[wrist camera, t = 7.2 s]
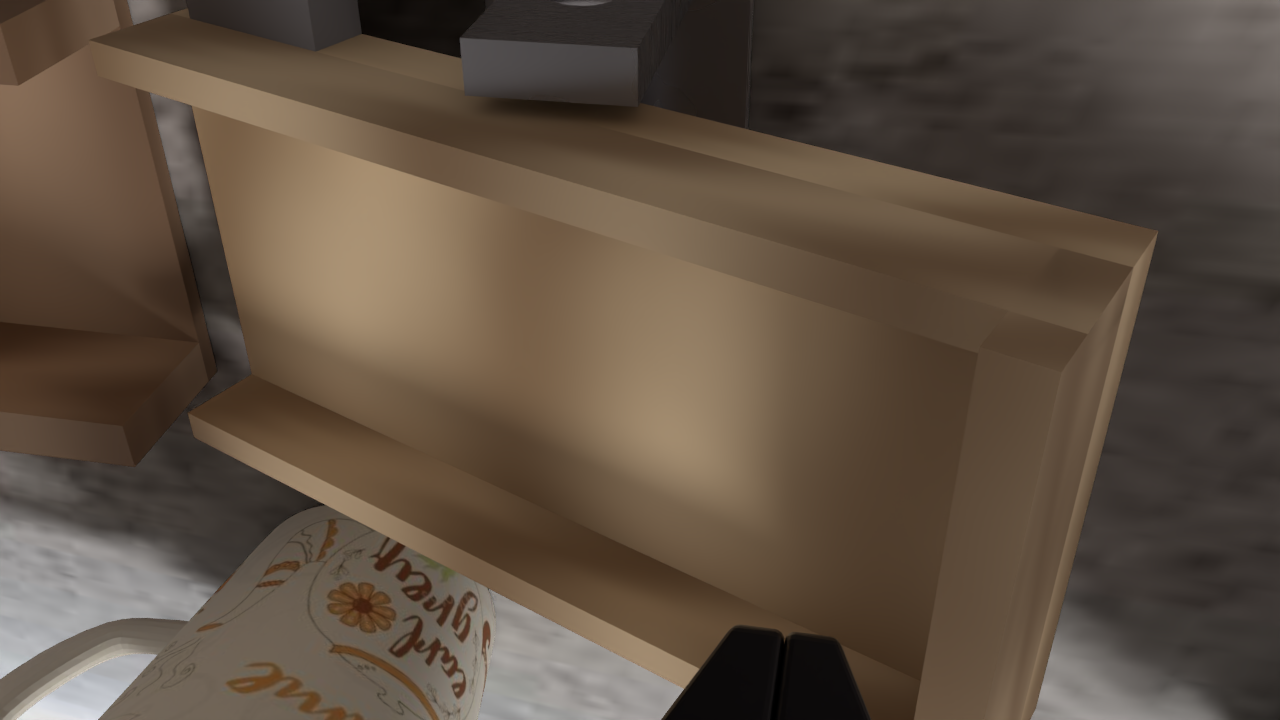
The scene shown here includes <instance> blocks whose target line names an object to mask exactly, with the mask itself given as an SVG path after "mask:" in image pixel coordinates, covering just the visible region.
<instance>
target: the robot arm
mask: <svg viewBox="0 0 1280 720" xmlns="http://www.w3.org/2000/svg"><path fill="white" fill-rule="evenodd" d="M661 720H871V717H870V715H869V712H868V710H867V707H866V705H865V702H864V700H863V697H862V695H861V692H860V690H859V687H858V685H857V683H856V680H855V678H854V675H853V673H852V670H851V668H850V665H849V663H848V660H847V658H846V655H845V653H844V650H843V648H842V646H841V644H840V643H839V641H838V640H837V639H835V638H834V637H830V636H823V635H816V634H808V633H801V632H791V633H789V634H788V635H787V636H786V638H785V643H784V636H783V634H782V632H780V631H779V630H777V629H771V628H764V627H756V626H749V625H736V626H733V627H732V628H731V629H730V630H729V631H728V632H727V633H726V634H725V636H724V637H723V638H722V640H721V641H720V642H719V644H718V645H717V646H716V648H715V649H714V650H713V652H712V653H711V654H710V656H709V657H708V658H707V660H706V661H705V662H704V664H703V665H702V666H701V668H700V669H699V670H698V672H697V673H696V674H695V676H694V677H693V678H692V680H691V681H690V682H689V683H688V685H687V686H686V687H685V689H684V690H683V691H682V693H681V694H680V695H679V697H678V698H677V699H676V701H675V702H674V703H673V705H672V706H671V707H670V709H669V710H668V711H667V713H666V714H665V715H664V717H663V718H662V719H661Z"/></svg>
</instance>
